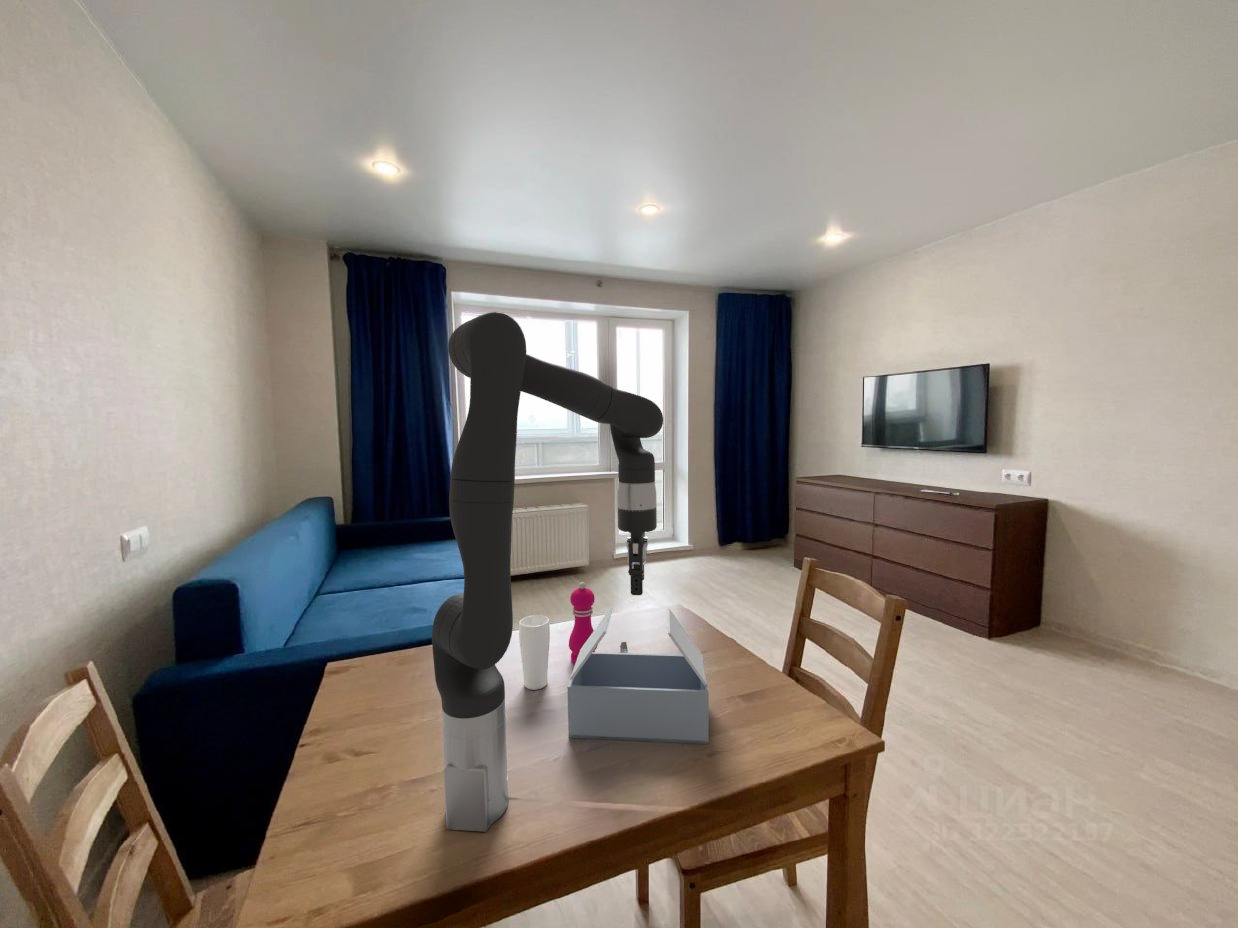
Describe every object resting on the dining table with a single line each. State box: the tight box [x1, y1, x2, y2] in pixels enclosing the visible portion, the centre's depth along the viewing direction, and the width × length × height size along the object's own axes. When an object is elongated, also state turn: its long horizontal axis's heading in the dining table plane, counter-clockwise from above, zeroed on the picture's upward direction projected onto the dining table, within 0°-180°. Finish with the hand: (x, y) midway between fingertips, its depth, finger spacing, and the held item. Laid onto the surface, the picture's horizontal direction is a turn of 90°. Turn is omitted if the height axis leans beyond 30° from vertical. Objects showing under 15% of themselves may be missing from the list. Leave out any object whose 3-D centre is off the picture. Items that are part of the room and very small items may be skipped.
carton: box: [567, 651, 710, 745], centre depth 97 cm, size 14×26×10 cm, turn 85°
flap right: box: [666, 608, 708, 685], centre depth 95 cm, size 12×12×1 cm
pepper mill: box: [568, 581, 599, 666], centre depth 120 cm, size 7×7×20 cm
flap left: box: [569, 606, 614, 680], centre depth 97 cm, size 12×12×1 cm
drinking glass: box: [518, 614, 551, 691], centre depth 109 cm, size 7×7×15 cm
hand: (637, 586), depth 95 cm, fingers open, 8 cm apart
